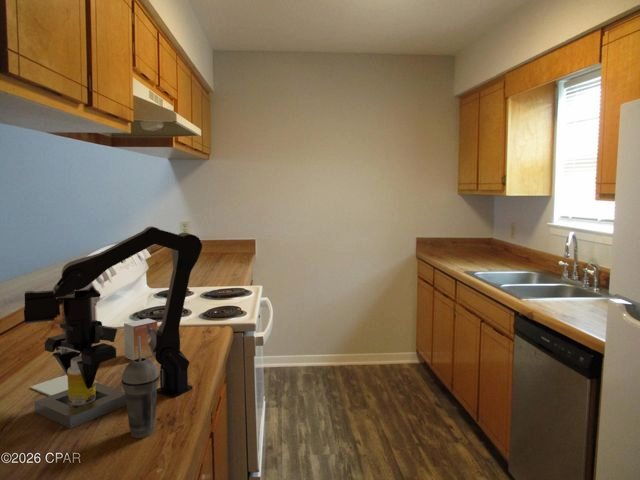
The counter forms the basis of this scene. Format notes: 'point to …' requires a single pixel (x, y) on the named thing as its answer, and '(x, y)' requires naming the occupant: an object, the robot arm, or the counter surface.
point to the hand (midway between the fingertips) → (81, 384)
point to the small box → (131, 338)
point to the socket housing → (71, 417)
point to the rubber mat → (52, 386)
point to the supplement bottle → (78, 386)
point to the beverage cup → (141, 394)
